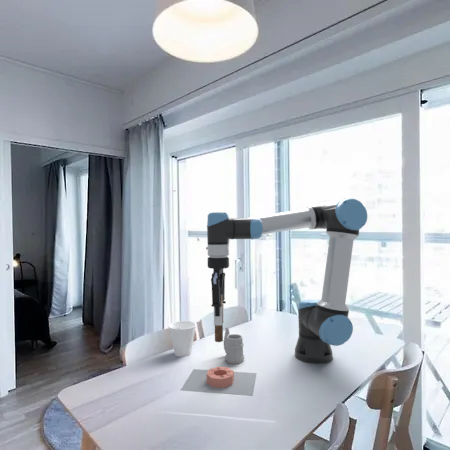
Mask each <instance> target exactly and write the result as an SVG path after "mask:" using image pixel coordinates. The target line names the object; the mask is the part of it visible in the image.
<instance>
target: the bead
mask: <svg viewBox="0 0 450 450" xmlns="http://www.w3.org/2000/svg"><path fill="white" fill-rule="evenodd" d="M207 370H208V372H207V383H208V384H209V385H210V386H212V387H217V388H225V387H227V386H230V385H232V384H233V381H234V372H235V371H234V370H233V369H231V368H229V367H228V366H216V367H212V368H209V369H207Z"/></svg>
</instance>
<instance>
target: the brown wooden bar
mask: <svg viewBox="0 0 450 450" xmlns="http://www.w3.org/2000/svg"><path fill="white" fill-rule="evenodd" d="M223 304H224V303H223V301H222V294H221V306H222V326H220V325H214V342H216V343H222V342H224V334H223V333H224V326H223V324H224V323H223Z"/></svg>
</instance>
